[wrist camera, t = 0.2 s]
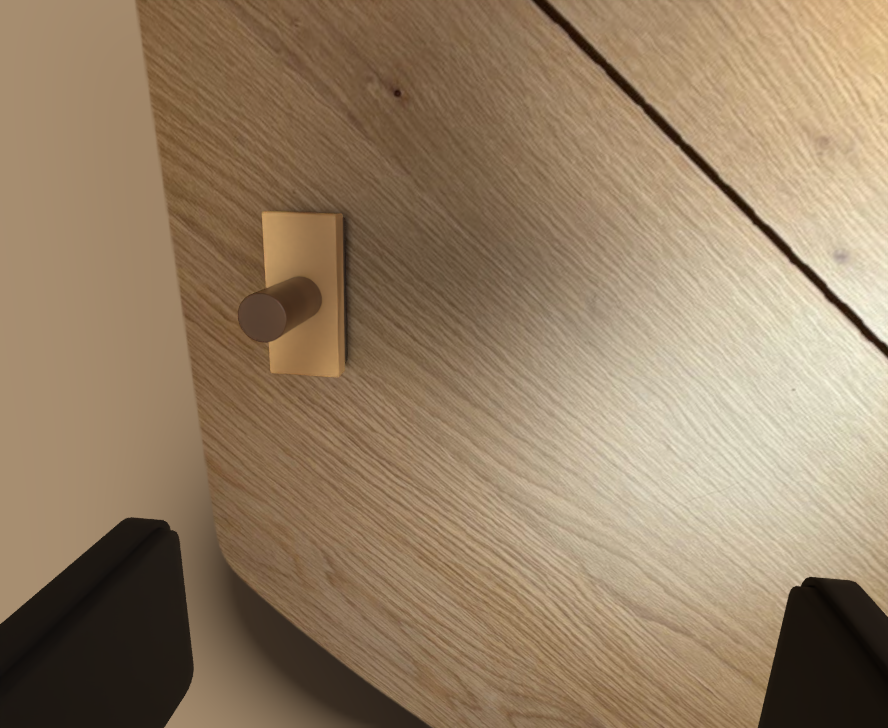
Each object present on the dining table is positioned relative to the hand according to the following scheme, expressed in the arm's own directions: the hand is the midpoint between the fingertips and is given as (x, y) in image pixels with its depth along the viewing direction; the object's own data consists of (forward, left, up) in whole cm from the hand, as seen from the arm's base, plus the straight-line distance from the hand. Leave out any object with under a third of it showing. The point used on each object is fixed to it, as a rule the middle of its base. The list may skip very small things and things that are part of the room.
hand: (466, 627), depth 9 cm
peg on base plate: (0, -12, -30) cm, 32 cm away
